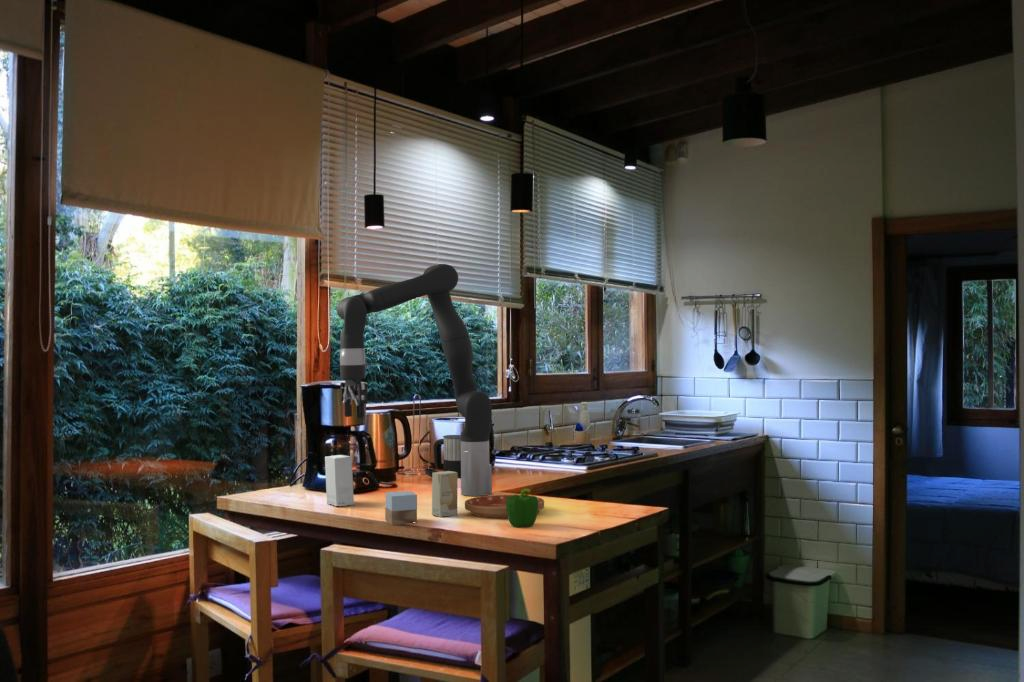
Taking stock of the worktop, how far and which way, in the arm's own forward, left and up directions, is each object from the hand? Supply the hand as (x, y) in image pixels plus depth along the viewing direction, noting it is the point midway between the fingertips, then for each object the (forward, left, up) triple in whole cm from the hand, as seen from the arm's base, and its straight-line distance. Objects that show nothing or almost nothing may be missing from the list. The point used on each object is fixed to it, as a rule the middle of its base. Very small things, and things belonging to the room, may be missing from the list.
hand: (354, 417), depth 275 cm
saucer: (-37, +28, -27) cm, 54 cm away
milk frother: (-43, -44, -27) cm, 68 cm away
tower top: (-6, +29, -23) cm, 38 cm away
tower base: (-6, +29, -27) cm, 40 cm away
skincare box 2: (-20, +25, -27) cm, 42 cm away
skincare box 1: (+4, -5, -27) cm, 28 cm away
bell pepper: (-34, +48, -27) cm, 65 cm away
